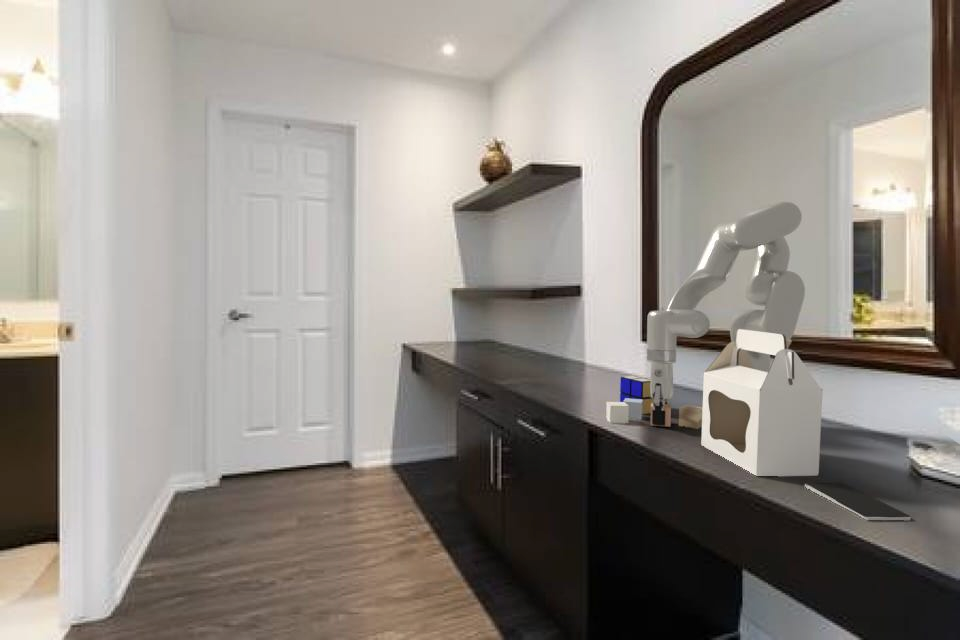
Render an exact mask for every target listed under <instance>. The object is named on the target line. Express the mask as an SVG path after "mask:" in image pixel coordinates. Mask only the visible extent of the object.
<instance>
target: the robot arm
mask: <svg viewBox="0 0 960 640" xmlns="http://www.w3.org/2000/svg"><path fill="white" fill-rule="evenodd" d="M802 219H803V218H802V211H801V209H800V208H799V206H798V205H796V203H793V202H790V201H780V202H776V203H772V204H767V205H762V206H759V207H754V208H753V209H751V210H749V211H748V212H746V213H745V215H744V217H740V218H736V219H730V220H726V221H723V222H721V223H719V224H717V225H716V226H715V227H714V228H713V230H712V232H711V234H710V236H709V238H708V241H707V242H706V245H705V247H704V249H703V252H702V254H701V256H700V258H699V260H698V262H697V265H696V266H695V268H694V270H693V272H692V273H691V274H690V275H689V276H688V277H687V278H686V279H685V281H684V282H683V283H682V284H681V285H680V286H679V287H678V288H677V290H676V292H675V294H674V295H673V296H672V297H671V300H670V302H669V304H668V306H667V309H666V310H650V311H649V312H648V314H647V319H646V320H647V322H646V323H647V325H646V331H647V332H646V333H647V334H646V362H648V363H650V375H649V376H650V394H651V398H652V399H653V413H652V424H653V425H661V426H660V427H665V426H664V425H665V410H664V404H669V400H671V399H672V397H673V395H674V368H673V367H674V366H673V365H674V364H675V363H677V338H678V337H681V338H690V339H694V338H695V339H696V338H700V337H702V336H704V335H706V334H707V333H708V331H709V330H710V327H711V325H710V324H711V323H710V319H709V317H708V316H707V315H706V314H705V313H704V312H702V311H700V310H696V308H697V306H698V305H699V303H700V302H701V301H702V300H703V298H705V296H707V295H708V294H710V293H711V292H713V291H715V290H716V289H719V288H720V287H721V286H722V285H724V284H725V283H726V282H727V279H728V277H729V276H730V273H731V272H732V269H733V266H734V264H735V263H736V261H737V258H738V256H739V254H740V253H741V252H742V251H750V250H754V252H755V254H754V259H753V263H752V266H751V270H750V273H749V278H748V279H747V284H746V287H745V298H746V299H747V301H749V303H751V304H753V305H756V306H759V307H764V309H752V308H751V309H743V310H741V311H739V312H737V313H736V314H735V315H734V316H733V317H732V319H731V321H730V324H729V333H730V334H729V335H730V340H731V341H730V342H732V341H736V337H737V331H738V330H739V329H745V330H753V331H761V332H769V333H777V334H784V335H785V337H786V339H787V340H792V339H791V338H792V337H793V335H794V333H795V330H796V326H797V324H798V320H799V317H800V314H801V310H802V306H803V305H804V300H805V295H806V288H805V287H806V286H805V282H804V280H803V279H802V278H801V276H800V275H799V274H798V273H796V272H794V271H790V270H788V267H789V262H790V259H791V251H790V247H789V244H788V242H787V239H786V238H785V237H786V236H787V235H789V234H792V233H793V232H794V231H796V230H797V229H798V228H799V227H800V225H801V222H802ZM747 352H748V354H749V357H750V359H751V362H752V364H753V367H754V369H755V370H760V371H764V372H769V369H770V367H771V365H772V361H771V355H770V354H764V353H759V352H754V351H749V350H747ZM653 425H652V426H653Z"/></svg>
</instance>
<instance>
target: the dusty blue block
mask: <svg viewBox="0 0 960 640" xmlns="http://www.w3.org/2000/svg"><path fill="white" fill-rule="evenodd" d="M623 402H625V403H626V404H627V405H628V406H629V416H628V418H629V419H628V420H635V419H638V420H639V421H642V419H643V415H642V413H643V400H642V399H630V398H625V399H624V401H623ZM638 420H637V421H638Z"/></svg>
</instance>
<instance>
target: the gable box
mask: <svg viewBox="0 0 960 640" xmlns="http://www.w3.org/2000/svg"><path fill="white" fill-rule="evenodd" d="M792 343H793V339H790V340H787V339H786V337H785V335H784V334H777V333H769V332H761V331H753V330H745V329H739V330H738V331H737V337H736V341H730V342H728V343H727V344H726V346H725V347H723V349H722V350H721V351H720V353H719V354H718V355H717V357H715V359H714V360H713V362H711V363H710V365H709V366H708V367H707V369H706V370H705V371H704V373H703V383H702V385H703V386H702V387H703V388H702V392H703V393H702V407H703V410H702V427H701V438H700V439H701V441H700V445H701V446H702V447H703V446H704V447H703V448H706V449H707V450H709V451H710V450H711V451H710V452H712V451H713V452H712V453H715V454H716V455H717V454H718V455H717V456H719V455H720V456H719V457H721V456H722V457H721V458H723V457H724V458H725V459H724V458H723V459H724V460H726V459H727V460H726V461H728V460H729V461H728V462H730V461H731V462H733V463H734V464H733V463H732V464H733V465H735V464H736V465H735V466H737V465H738V466H740V467H742V468H743V469H742V468H741V469H742V470H744V469H745V470H747V471H749V472H750V473H749V472H748V473H749V474H751V473H752V474H754V475H756V476H778V477H816V476H819V473H820V472H819V471H820V455H821V454H820V451H821V450H820V447H821V434H822V433H821V431H822V430H821V429H822V428H821V427H822V411H823V410H822V409H823V407H822V406H823V389H822V388H821V386H820V385H819V384H818V383H817V381H816V379H815V378H814V377H813V375H812V374H811V372H810V371H809V369H808V368H807V366H806V365H805V364H804V361H802V359H801V358H800V356H799V355H798V354H797V352H796V351H794V350H792V349H790V346H792ZM747 350H749V351H754V352H759V353H764V354H770V356H774V359H773V361H772V362H771V367H770V369H769V372H764V371H760V370H755V369H754V367H753V364H752V362H751V359H750V357H749V354H748V352H747ZM731 462H730V463H731ZM738 466H737V467H738ZM740 467H739V468H740ZM745 470H744V471H745ZM747 471H746V472H747ZM752 474H751V475H752ZM754 475H753V476H754ZM756 476H755V477H756Z"/></svg>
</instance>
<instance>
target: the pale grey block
mask: <svg viewBox="0 0 960 640" xmlns="http://www.w3.org/2000/svg"><path fill="white" fill-rule="evenodd" d="M605 412H606V413H605V415H606V416H605V417H606V418H607V419H606V418H605V419H606V420H607V422H608V421H609V422H610V423H609V422H608V423H609V424H625V423H628V424H629V419H628V416H629V406H628V405H627V404H626V403H625V402H620V401H606V410H605Z"/></svg>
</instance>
